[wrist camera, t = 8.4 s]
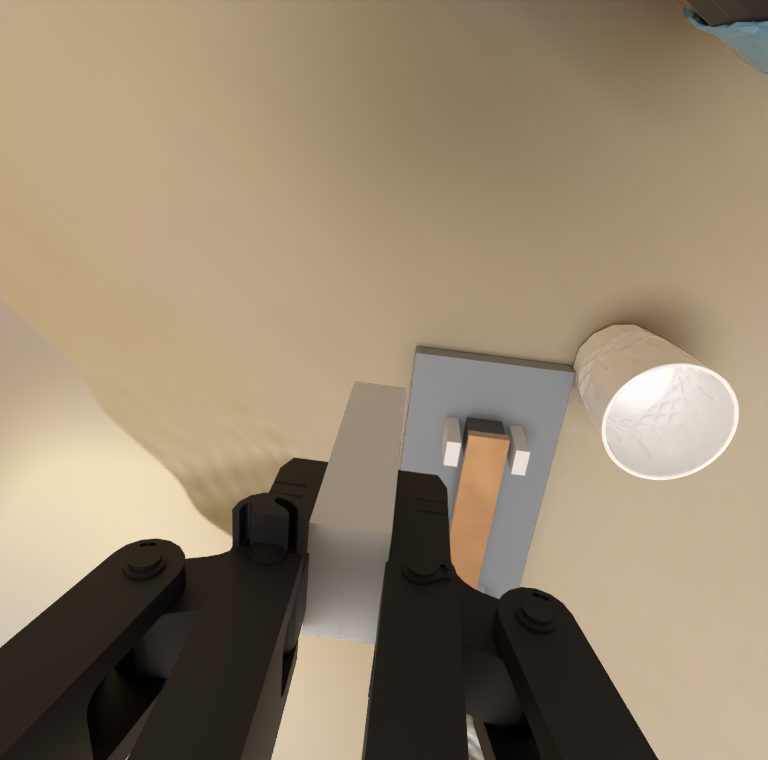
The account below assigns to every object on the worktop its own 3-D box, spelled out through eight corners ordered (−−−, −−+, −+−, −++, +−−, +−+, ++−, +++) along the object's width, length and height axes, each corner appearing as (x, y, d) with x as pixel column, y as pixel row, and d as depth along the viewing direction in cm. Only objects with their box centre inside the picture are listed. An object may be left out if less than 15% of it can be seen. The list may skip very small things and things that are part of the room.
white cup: (692, 341, 41) (768, 396, 32) (633, 426, 44) (686, 498, 35) (600, 298, 41) (650, 342, 31) (546, 387, 44) (577, 451, 34)
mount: (416, 346, 43) (414, 375, 38) (570, 365, 43) (591, 397, 37) (383, 591, 53) (377, 642, 47) (508, 608, 52) (517, 662, 47)
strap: (466, 428, 41) (467, 436, 40) (509, 434, 41) (511, 442, 40) (431, 617, 48) (431, 628, 47) (467, 622, 48) (468, 633, 47)
